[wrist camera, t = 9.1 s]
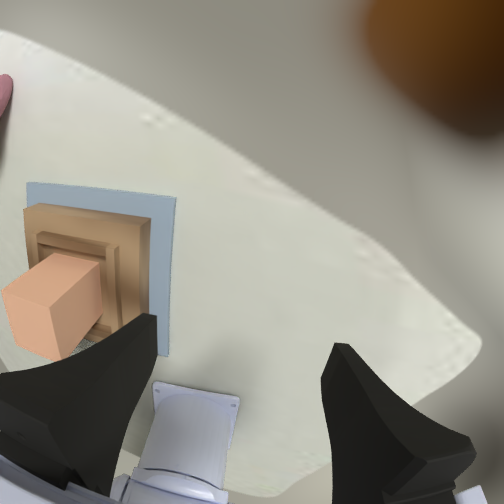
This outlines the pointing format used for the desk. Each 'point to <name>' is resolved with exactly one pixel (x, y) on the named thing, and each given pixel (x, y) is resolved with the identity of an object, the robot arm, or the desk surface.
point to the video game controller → (5, 91)
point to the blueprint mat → (130, 204)
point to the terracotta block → (54, 305)
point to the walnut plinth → (97, 255)
